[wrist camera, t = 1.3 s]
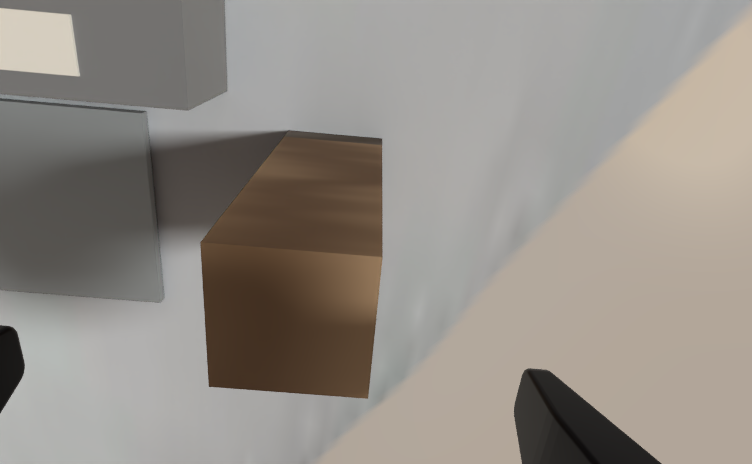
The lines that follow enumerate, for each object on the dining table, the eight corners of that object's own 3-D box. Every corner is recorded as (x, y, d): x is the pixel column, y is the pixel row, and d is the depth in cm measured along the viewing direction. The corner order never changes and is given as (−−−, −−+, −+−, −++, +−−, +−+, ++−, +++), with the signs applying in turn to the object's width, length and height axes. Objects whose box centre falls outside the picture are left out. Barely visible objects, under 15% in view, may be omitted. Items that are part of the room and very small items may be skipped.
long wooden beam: (382, 138, 19) (382, 257, 10) (374, 224, 20) (367, 398, 11) (288, 130, 19) (200, 242, 10) (287, 217, 20) (208, 386, 11)
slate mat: (146, 111, 19) (141, 113, 18) (164, 297, 22) (160, 302, 21) (-130, 87, 18) (-141, 88, 18) (-71, 279, 21) (-79, 283, 21)
